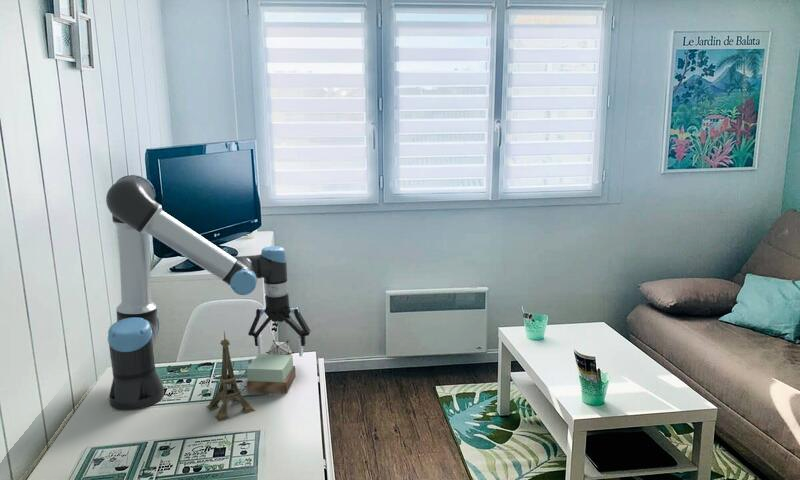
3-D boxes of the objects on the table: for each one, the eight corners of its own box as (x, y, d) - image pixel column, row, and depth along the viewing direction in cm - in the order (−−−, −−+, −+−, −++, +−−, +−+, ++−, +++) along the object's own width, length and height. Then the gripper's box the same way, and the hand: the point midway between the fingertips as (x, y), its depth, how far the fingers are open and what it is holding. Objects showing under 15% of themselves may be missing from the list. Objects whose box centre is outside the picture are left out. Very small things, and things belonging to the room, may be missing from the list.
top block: (247, 380, 197) (246, 368, 196) (259, 365, 208) (258, 354, 207) (283, 382, 196) (282, 369, 195) (293, 366, 206) (292, 355, 205)
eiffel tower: (241, 396, 195) (235, 317, 189) (254, 410, 186) (249, 328, 180) (206, 406, 189) (199, 325, 183) (218, 421, 180) (211, 336, 174)
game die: (286, 372, 219) (302, 347, 220) (279, 374, 211) (296, 347, 212) (264, 357, 221) (281, 332, 221) (256, 358, 212) (274, 332, 213)
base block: (247, 394, 197) (247, 381, 196) (258, 376, 209) (258, 365, 208) (287, 394, 196) (286, 382, 195) (295, 377, 208) (295, 365, 207)
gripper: (235, 297, 209) (240, 359, 214) (312, 297, 207) (316, 359, 212) (242, 290, 216) (247, 350, 221) (316, 290, 214) (320, 350, 219)
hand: (281, 354), depth 216 cm, fingers open, 13 cm apart
